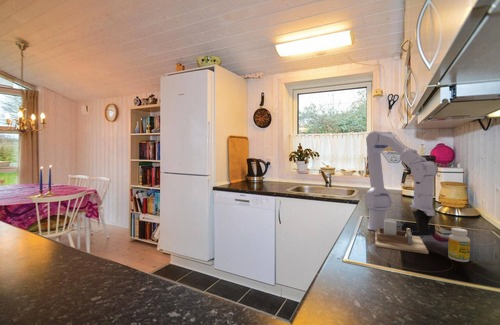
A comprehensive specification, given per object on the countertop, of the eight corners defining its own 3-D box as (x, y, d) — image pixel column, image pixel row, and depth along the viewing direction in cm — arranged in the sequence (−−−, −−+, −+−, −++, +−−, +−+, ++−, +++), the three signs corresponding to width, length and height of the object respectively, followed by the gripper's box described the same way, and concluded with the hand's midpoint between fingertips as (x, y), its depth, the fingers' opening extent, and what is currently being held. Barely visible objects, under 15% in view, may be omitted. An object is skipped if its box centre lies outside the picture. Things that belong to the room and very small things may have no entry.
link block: (383, 236, 100) (384, 219, 100) (395, 238, 98) (395, 220, 98) (384, 239, 96) (384, 221, 96) (396, 241, 95) (396, 222, 94)
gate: (406, 236, 99) (406, 227, 99) (410, 237, 99) (410, 228, 99) (407, 243, 91) (407, 234, 91) (412, 244, 90) (412, 235, 90)
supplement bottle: (457, 255, 84) (458, 226, 84) (474, 262, 79) (475, 231, 78) (443, 256, 83) (444, 227, 83) (459, 262, 78) (460, 232, 78)
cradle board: (375, 232, 108) (375, 224, 108) (419, 238, 101) (419, 230, 100) (375, 245, 91) (375, 236, 91) (428, 254, 84) (428, 244, 84)
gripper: (404, 191, 100) (403, 224, 100) (418, 196, 86) (416, 235, 87) (424, 192, 98) (423, 226, 99) (442, 198, 84) (440, 237, 85)
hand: (421, 230), depth 92 cm, fingers closed
